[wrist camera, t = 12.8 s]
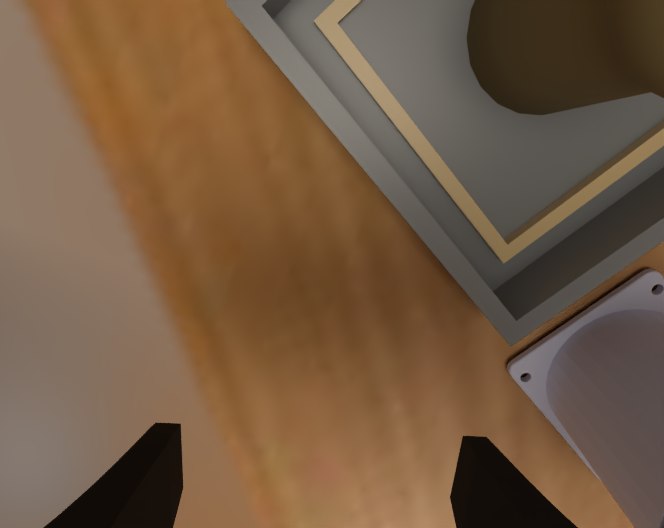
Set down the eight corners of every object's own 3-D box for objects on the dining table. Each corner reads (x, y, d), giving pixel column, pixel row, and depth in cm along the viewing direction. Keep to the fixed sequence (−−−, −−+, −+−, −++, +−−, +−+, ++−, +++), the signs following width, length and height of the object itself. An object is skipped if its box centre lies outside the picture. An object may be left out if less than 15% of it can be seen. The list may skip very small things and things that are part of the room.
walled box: (817, 68, 19) (921, 62, 15) (483, 308, 22) (510, 346, 19) (617, -359, 15) (703, -493, 11) (243, 19, 18) (225, 2, 15)
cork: (537, -104, 16) (908, -455, 6) (664, 0, 17) (1168, -141, 7) (434, 60, 18) (581, 13, 8) (556, 144, 19) (831, 205, 9)
